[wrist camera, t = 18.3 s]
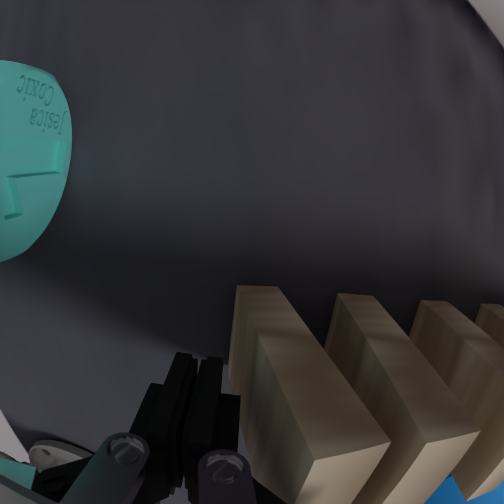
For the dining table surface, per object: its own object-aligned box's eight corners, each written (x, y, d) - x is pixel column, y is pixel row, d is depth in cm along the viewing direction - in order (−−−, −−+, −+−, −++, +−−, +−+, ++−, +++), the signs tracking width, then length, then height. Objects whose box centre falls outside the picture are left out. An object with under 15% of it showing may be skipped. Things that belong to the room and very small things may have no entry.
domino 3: (394, 374, 17) (465, 501, 7) (420, 299, 15) (535, 412, 6) (420, 373, 17) (496, 488, 7) (447, 301, 15) (560, 401, 6)
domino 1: (227, 371, 16) (274, 540, 7) (236, 285, 15) (314, 459, 5) (263, 370, 17) (331, 528, 7) (277, 286, 15) (391, 441, 6)
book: (418, 552, 22) (408, 501, 16) (411, 531, 26) (394, 464, 20) (522, 491, 20) (568, 390, 14) (511, 473, 24) (543, 367, 18)
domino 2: (316, 374, 17) (358, 530, 7) (337, 292, 15) (426, 443, 6) (349, 374, 17) (407, 520, 7) (373, 295, 15) (481, 430, 6)
